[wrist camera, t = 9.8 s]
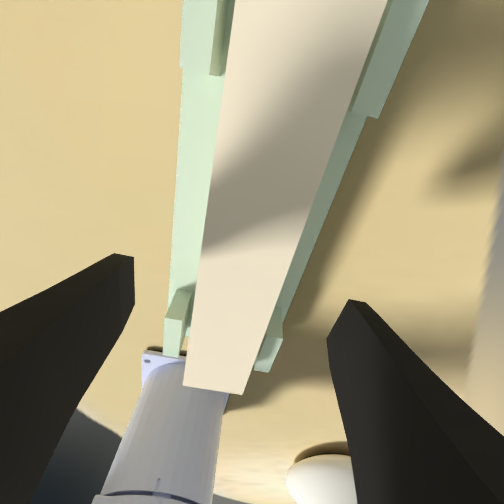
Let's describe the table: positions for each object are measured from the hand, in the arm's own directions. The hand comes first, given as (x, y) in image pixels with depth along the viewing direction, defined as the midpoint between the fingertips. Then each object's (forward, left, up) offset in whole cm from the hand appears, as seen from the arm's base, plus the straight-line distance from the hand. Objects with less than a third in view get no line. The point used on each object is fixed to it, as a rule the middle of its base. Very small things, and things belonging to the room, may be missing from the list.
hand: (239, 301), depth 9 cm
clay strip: (0, 0, -6) cm, 6 cm away
